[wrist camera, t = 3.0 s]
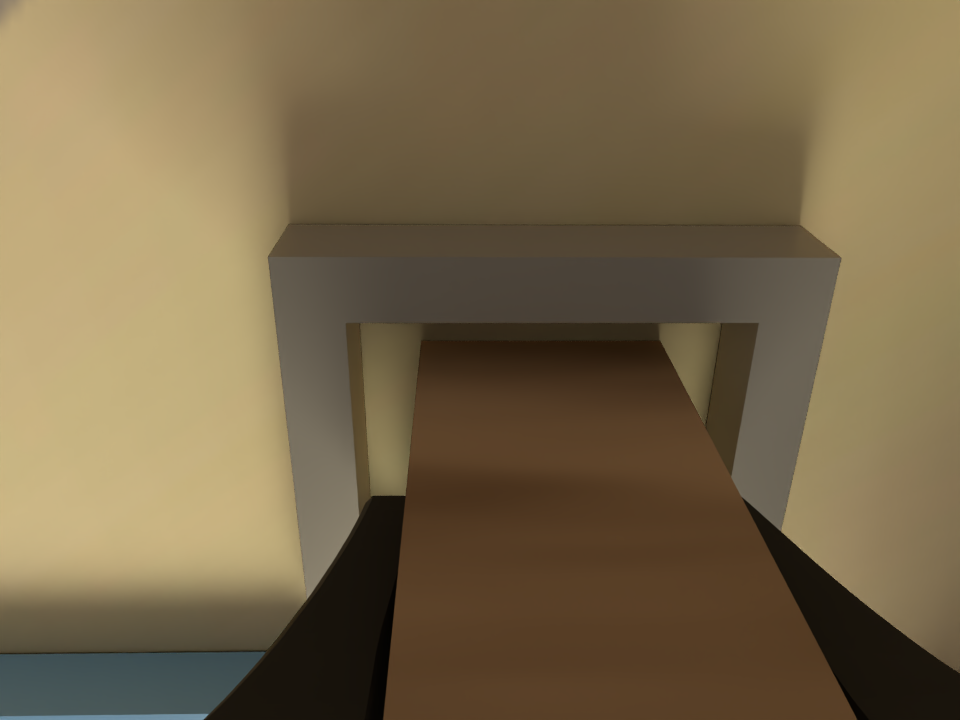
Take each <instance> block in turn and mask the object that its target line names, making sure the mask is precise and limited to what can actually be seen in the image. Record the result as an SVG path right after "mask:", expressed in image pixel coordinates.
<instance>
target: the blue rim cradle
mask: <svg viewBox="0 0 960 720" xmlns="http://www.w3.org/2000/svg"><path fill="white" fill-rule="evenodd" d="M265 653H266V652H185V653H86V654H0V720H204V719H205V718H206V717H207V716H208V715H209V714H210V713H211V712H212V711H213V710H214V709H215V708H216V707H217V706H218V705H219V704H220V703H221V702H222V701H223V700H224V699H225V698H226V696H227V695H228V694H229V693H230V692H231V691H232V690H233V689H234V688H235V687H236V686H237V685H238V683H239V682H240V681H241V680H242V679H243V678H244V677H245V676H246V675H247V674H248V673H249V671H250V670H251V669H252V668H253V667H254V666H255V665H256V663H257V662H258V661H259V660H260V659H261V658H262V656H263V655H264V654H265Z"/></svg>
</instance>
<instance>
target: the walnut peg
mask: <svg viewBox="0 0 960 720" xmlns="http://www.w3.org/2000/svg"><path fill="white" fill-rule="evenodd" d="M383 720H857V718H856V716H855V714H854V712H853V711H852V709H851V707H850V705H849V703H848V701H847V699H846V697H845V695H844V693H843V691H842V689H841V687H840V686H839V684H838V682H837V680H836V678H835V676H834V674H833V672H832V670H831V668H830V666H829V664H828V662H827V661H826V659H825V657H824V655H823V653H822V651H821V649H820V647H819V645H818V643H817V641H816V639H815V637H814V636H813V634H812V632H811V630H810V628H809V626H808V624H807V622H806V620H805V618H804V616H803V614H802V612H801V611H800V609H799V607H798V605H797V603H796V601H795V599H794V597H793V595H792V593H791V591H790V589H789V587H788V586H787V584H786V582H785V580H784V578H783V576H782V574H781V572H780V570H779V568H778V566H777V564H776V563H775V561H774V559H773V557H772V555H771V553H770V551H769V549H768V547H767V545H766V543H765V541H764V539H763V538H762V536H761V534H760V532H759V530H758V528H757V526H756V524H755V522H754V520H753V518H752V516H751V514H750V513H749V511H748V509H747V507H746V505H745V503H744V501H743V499H742V497H741V495H740V493H739V491H738V489H737V488H736V486H735V484H734V482H733V480H732V478H731V476H730V474H729V472H728V470H727V468H726V466H725V464H724V463H723V461H722V459H721V457H720V455H719V453H718V451H717V449H716V447H715V445H714V443H713V441H712V439H711V438H710V436H709V434H708V432H707V430H706V428H705V426H704V424H703V422H702V420H701V418H700V416H699V414H698V413H697V411H696V409H695V407H694V405H693V403H692V401H691V399H690V397H689V395H688V393H687V391H686V389H685V388H684V386H683V384H682V382H681V380H680V378H679V376H678V374H677V372H676V370H675V368H674V366H673V364H672V363H671V361H670V359H669V357H668V355H667V353H666V351H665V349H664V347H663V345H662V343H661V341H421V348H420V358H419V368H418V378H417V388H416V398H415V408H414V418H413V428H412V438H411V448H410V458H409V468H408V478H407V488H406V498H405V508H404V518H403V528H402V538H401V548H400V558H399V568H398V578H397V588H396V598H395V608H394V618H393V628H392V638H391V648H390V658H389V668H388V677H387V687H386V697H385V707H384V717H383Z"/></svg>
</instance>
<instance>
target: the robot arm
mask: <svg viewBox="0 0 960 720" xmlns="http://www.w3.org/2000/svg"><path fill="white" fill-rule="evenodd" d="M405 498H406V496H373V497H371V498H370V499H369V500H368V501H367V502H366V503H365V505H364V507H363V509H362V512H361V514H360V516H359V517H358V519H357V521H356V523H355V525H354V527H353V529H352V530H351V532H350V534H349V536H348V537H347V539H346V541H345V543H344V544H343V546H342V547H341V549H340V551H339V552H338V554H337V556H336V557H335V559H334V560H333V562H332V563H331V565H330V566H329V568H328V569H327V571H326V572H325V574H324V575H323V577H322V578H321V580H320V581H319V583H318V584H317V586H316V587H315V589H314V590H313V592H312V593H311V595H310V596H309V597H308V599H307V600H306V602H305V603H304V604H303V606H302V607H301V608H300V610H299V611H298V612H297V613H296V615H295V616H294V617H293V619H292V620H291V621H290V623H289V624H288V625H287V626H286V628H285V629H284V630H283V632H282V633H281V634H280V636H279V637H278V638H277V640H276V641H275V642H274V643H273V644H272V646H271V647H270V648H269V649H268V650H267V652H266V653H265V654H264V655H263V656H262V658H261V659H260V660H259V661H258V662H257V663H256V665H255V666H254V667H253V668H252V669H251V670H250V671H249V673H248V674H247V675H246V676H245V677H244V678H243V679H242V680H241V681H240V682H239V683H238V685H237V686H236V687H235V688H234V689H233V690H232V691H231V692H230V693H229V694H228V695H227V696H226V698H225V699H224V700H223V701H222V702H221V703H220V704H219V705H218V706H217V707H216V708H215V709H214V710H213V711H212V712H211V713H210V714H209V715H208V716H207V717H206V718H205V719H204V720H383V717H384V707H385V697H386V687H387V677H388V668H389V658H390V648H391V638H392V628H393V618H394V608H395V598H396V588H397V578H398V568H399V558H400V548H401V538H402V528H403V518H404V508H405ZM742 499H743V501H744V503H745V505H746V507H747V509H748V511H749V513H750V514H751V516H752V518H753V520H754V522H755V524H756V526H757V528H758V530H759V532H760V534H761V536H762V538H763V539H764V541H765V543H766V545H767V547H768V549H769V551H770V553H771V555H772V557H773V559H774V561H775V563H776V564H777V566H778V568H779V570H780V572H781V574H782V576H783V578H784V580H785V582H786V584H787V586H788V587H789V589H790V591H791V593H792V595H793V597H794V599H795V601H796V603H797V605H798V607H799V609H800V611H801V612H802V614H803V616H804V618H805V620H806V622H807V624H808V626H809V628H810V630H811V632H812V634H813V636H814V637H815V639H816V641H817V643H818V645H819V647H820V649H821V651H822V653H823V655H824V657H825V659H826V661H827V662H828V664H829V666H830V668H831V670H832V672H833V674H834V676H835V678H836V680H837V682H838V684H839V686H840V687H841V689H842V691H843V693H844V695H845V697H846V699H847V701H848V703H849V705H850V707H851V709H852V711H853V712H854V714H855V716H856V718H857V720H960V674H959V673H958V672H956V671H955V670H953V669H952V668H950V667H949V666H947V665H946V664H944V663H943V662H941V661H940V660H938V659H937V658H936V657H934V656H933V655H931V654H930V653H929V652H927V651H926V650H924V649H923V648H922V647H920V646H919V645H917V644H916V643H915V642H913V641H912V640H911V639H909V638H908V637H907V636H905V635H904V634H903V633H901V632H900V631H899V630H898V629H896V628H895V627H894V626H892V625H891V624H890V623H888V622H887V621H886V620H885V619H883V618H882V617H881V616H879V615H878V614H877V613H875V612H874V611H873V610H872V609H870V608H869V607H868V606H867V605H865V604H864V603H863V602H862V601H860V600H859V599H858V598H857V597H856V596H854V595H853V594H852V593H851V592H849V591H848V590H847V589H846V588H845V587H843V586H842V585H841V584H840V583H839V582H838V581H836V580H835V579H834V578H833V577H832V576H830V575H829V574H828V573H827V572H826V571H825V570H824V569H822V568H821V567H820V566H819V565H818V564H817V563H815V562H814V561H813V560H812V559H811V558H810V557H809V556H808V555H806V554H805V553H804V552H803V551H802V550H801V549H800V548H799V547H797V546H796V545H795V544H794V543H793V542H792V541H791V540H790V539H788V538H787V537H786V536H785V535H784V534H783V533H782V532H781V531H780V530H779V529H777V528H776V527H775V526H774V525H773V524H772V523H771V522H770V521H769V520H767V519H766V518H765V517H764V516H763V515H762V514H761V513H760V512H759V511H757V510H756V509H755V508H754V507H753V506H752V505H751V504H750V503H748V502H747V501H746V500H745V499H744V498H743V497H742Z"/></svg>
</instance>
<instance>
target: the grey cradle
mask: <svg viewBox="0 0 960 720" xmlns="http://www.w3.org/2000/svg"><path fill="white" fill-rule="evenodd" d="M268 261H269V270H270V279H271V288H272V297H273V305H274V314H275V323H276V332H277V341H278V350H279V358H280V367H281V376H282V385H283V394H284V402H285V411H286V420H287V429H288V438H289V446H290V455H291V464H292V473H293V482H294V490H295V499H296V508H297V517H298V526H299V535H300V543H301V552H302V561H303V570H304V579H305V587H306V596H307V599H308V597H309V596H310V595H311V593H312V592H313V590H314V589H315V587H316V586H317V584H318V583H319V581H320V580H321V578H322V577H323V575H324V574H325V572H326V571H327V569H328V568H329V566H330V565H331V563H332V562H333V560H334V559H335V557H336V556H337V554H338V552H339V551H340V549H341V547H342V546H343V544H344V543H345V541H346V539H347V537H348V536H349V534H350V532H351V530H352V529H353V527H354V525H355V523H356V521H357V519H358V517H359V516H360V514H361V512H362V509H363V507H364V505H365V503H366V502H367V501H368V500H369V499H370V498H371V497H370V481H369V465H368V449H367V433H366V417H365V400H364V384H363V368H362V352H361V336H360V323H722V329H721V335H720V342H719V348H718V354H717V361H716V367H715V373H714V380H713V386H712V393H711V399H710V405H709V412H708V418H707V424H706V430H707V432H708V434H709V436H710V438H711V439H712V441H713V443H714V445H715V447H716V449H717V451H718V453H719V455H720V457H721V459H722V461H723V463H724V464H725V466H726V468H727V470H728V472H729V474H730V476H731V478H732V480H733V482H734V484H735V486H736V488H737V489H738V491H739V493H740V495H741V497H743V498H744V499H745V500H746V501H747V502H748V503H750V504H751V505H752V506H753V507H754V508H755V509H756V510H757V511H759V512H760V513H761V514H762V515H763V516H764V517H765V518H766V519H767V520H769V521H770V522H771V523H772V524H773V525H774V526H775V527H776V528H777V529H779V530H780V531H781V529H782V524H783V520H784V515H785V511H786V506H787V502H788V497H789V492H790V488H791V483H792V479H793V474H794V470H795V465H796V461H797V456H798V452H799V447H800V443H801V438H802V434H803V429H804V425H805V420H806V416H807V411H808V407H809V402H810V397H811V393H812V388H813V384H814V379H815V375H816V370H817V366H818V361H819V357H820V352H821V348H822V343H823V339H824V334H825V330H826V325H827V321H828V316H829V312H830V307H831V302H832V298H833V293H834V289H835V284H836V280H837V275H838V271H839V266H840V262H841V257H840V256H838V255H837V254H836V253H835V252H833V251H832V250H831V249H830V248H828V247H827V246H826V245H825V244H823V243H822V242H821V241H820V240H818V239H817V238H816V237H814V236H813V235H812V234H811V233H809V232H808V231H807V230H806V229H804V228H803V227H802V226H677V225H307V224H289V225H288V226H287V228H286V229H285V231H284V232H283V234H282V236H281V237H280V239H279V240H278V242H277V243H276V245H275V247H274V248H273V250H272V251H271V253H270V254H269V256H268Z"/></svg>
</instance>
